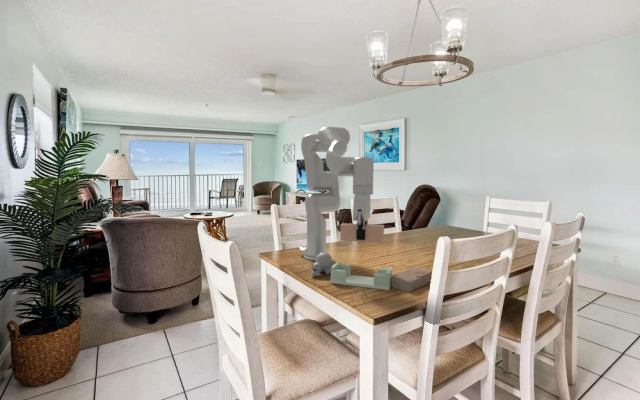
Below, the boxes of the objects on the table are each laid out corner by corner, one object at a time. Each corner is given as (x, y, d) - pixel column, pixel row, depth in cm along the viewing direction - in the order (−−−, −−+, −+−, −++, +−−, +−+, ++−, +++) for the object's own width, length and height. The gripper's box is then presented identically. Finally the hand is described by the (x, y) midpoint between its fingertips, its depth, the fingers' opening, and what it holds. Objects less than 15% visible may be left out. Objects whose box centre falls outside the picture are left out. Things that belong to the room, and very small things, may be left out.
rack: (330, 282, 125) (330, 267, 125) (337, 275, 134) (337, 261, 133) (388, 290, 118) (389, 273, 118) (392, 282, 126) (392, 266, 126)
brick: (409, 293, 116) (409, 280, 116) (389, 287, 122) (389, 274, 122) (432, 282, 127) (432, 270, 127) (412, 277, 134) (413, 266, 133)
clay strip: (340, 240, 124) (340, 224, 124) (341, 238, 128) (342, 223, 128) (383, 242, 121) (383, 226, 120) (383, 240, 125) (384, 224, 124)
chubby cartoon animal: (307, 280, 136) (301, 263, 133) (325, 264, 144) (320, 247, 141) (320, 284, 131) (314, 266, 128) (338, 267, 139) (333, 250, 136)
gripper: (358, 188, 132) (357, 233, 134) (347, 191, 116) (346, 242, 118) (376, 189, 130) (376, 235, 131) (368, 191, 114) (367, 243, 115)
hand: (362, 237), depth 125 cm, fingers closed on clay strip, 4 cm apart
